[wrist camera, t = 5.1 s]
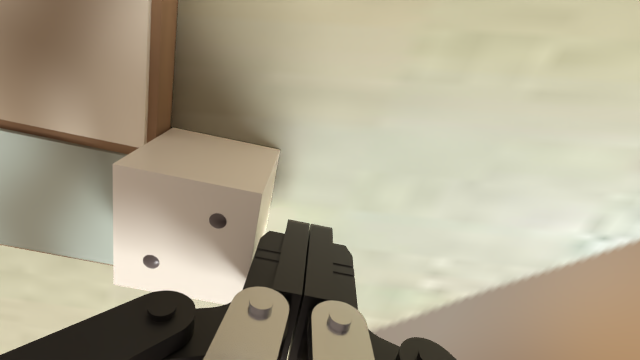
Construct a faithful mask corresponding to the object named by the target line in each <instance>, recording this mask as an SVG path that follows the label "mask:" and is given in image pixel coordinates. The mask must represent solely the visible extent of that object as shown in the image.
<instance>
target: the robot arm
mask: <svg viewBox="0 0 640 360" xmlns="http://www.w3.org/2000/svg"><path fill="white" fill-rule="evenodd" d="M309 225H310V224H309V223H304V222H299V221H294V220H289V219H288V223H287V228H286V232H285V234H283V233H278V232H273V231H269V232H267V233H266V234H265V235H264V236H262V237H261V238H260V240H259V243H258V246H257V250H256V252H255V255H254V258H253V261H252V263H251V266H250V269H249V272H248V275H247V278H246V281H245V284H244V287H243V290H242V291H240V292H239V293H237V294H236V295H235V296H234V298H233V300H232V302H230V303H228V304H225V305H223V306H219V307H213V308H199V309H195V305H194V303H193V301H192V300H191V299H190V298H189V297H188V296H186V295H185V294H183V293H180V292H176V291H169V290H163V291H156V292H152V293H149V294H146V295H144V296H141V297H139V298H136V299H134V300H132V301H129V302H127V303H124V304H122V305H120V306H117V307H115V308H112V309H110V310H108V311H105V312H103V313H100V314H98V315H96V316H93V317H91V318H88V319H86V320H84V321H81V322H79V323H76V324H74V325H72V326H69V327H67V328H64V329H62V330H60V331H57V332H55V333H52V334H50V335H48V336H45V337H43V338H40V339H38V340H36V341H33V342H31V343H28V344H26V345H24V346H21V347H19V348H16V349H14V350H12V351H9V352H7V353H4V354H2V355H0V360H286V359H287V355H288V351H289V356H288V360H456V359H455V358H454V357H453V356H452V355H451V354H450V353H449V352H448V351H446V350H445V349H444V348H443V347H441V346H440V345H438V344H437V343H434V342H433V341H431V340H428V339H424V338H417V337H414V338H409V339H407V340H405V341H404V342H403V343H402V344H401V346H400V347H399V346H397V345H395V344H392V343H390V342H388V341H386V340H384V339H381V338H379V337H378V336H376V335H375V334H373V333H372V332H371V331H370V330H369V329H368V327H367V323H366V320H365V318H364V317H363V315H362V314H361V313H360V312H359V311H358V307H357V297H356V287H355V278H354V269H353V258H352V255H351V253H350V252H349V251H348V249H347V248H346V246H344V245H339V244H334V243H333V233H332V228H329V227H324V226H319V225H314V224H311V225H310V229H309ZM289 347H290V348H289Z"/></svg>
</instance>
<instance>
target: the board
mask: <svg viewBox="0 0 640 360" xmlns="http://www.w3.org/2000/svg"><path fill="white" fill-rule="evenodd" d="M177 9H178V0H0V245H4V246H10V247H15V248H20V249H26V250H31V251H37V252H42V253H48V254H53V255H58V256H64V257H69V258H75V259H80V260H85V261H91V262H96V263H102V264H107V265H113V167H112V164H113V163H115V162H117V161H118V160H120V159H122V158H123V157H125V156H126V155H128V154H130V153H131V152H133V151H135V150H136V149H138V148H140V147H141V146H143V145H145V144H146V143H148V142H150V141H151V140H153V139H155V138H156V137H158V136H160V135H161V134H163V133H165V132H166V131H168V130H170V128H171V111H172V94H173V77H174V60H175V43H176V26H177Z"/></svg>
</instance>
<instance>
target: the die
mask: <svg viewBox="0 0 640 360" xmlns="http://www.w3.org/2000/svg"><path fill="white" fill-rule="evenodd" d="M279 154H280V149H275V148H270V147H265V146H260V145H255V144H251V143H246V142H241V141H236V140H231V139H227V138H222V137H217V136H212V135H207V134H202V133H198V132H193V131H188V130H183V129H178V128H171V129H170V130H168V131H166V132H165V133H163V134H161V135H160V136H158V137H156V138H155V139H153V140H151V141H150V142H148V143H146V144H145V145H143V146H141V147H140V148H138V149H136V150H135V151H133V152H131V153H130V154H128V155H126V156H125V157H123V158H122V159H120V160H118V161H117V162H115V163H113V164H112V167H113V270H114V285H118V286H124V287H129V288H135V289H141V290H146V291H152V292H156V291H163V290H169V291H176V292H180V293H183V294H185V295H186V296H188V297H189V298H191V299H197V300H202V301H208V302H214V303H219V304H228V303H230V302H232V300H233V298H234V296H235V295H236V294H237V293H239V292H240V291H242V290H243V287H244V284H245V281H246V278H247V275H248V272H249V269H250V266H251V263H252V261H253V258H254V255H255V252H256V250H257V246H258V243H259V240H260V238H261V237H262V236H264V235H265V233H266V227H267V222H268V216H269V211H270V205H271V199H272V194H273V188H274V182H275V177H276V171H277V166H278V160H279Z"/></svg>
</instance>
